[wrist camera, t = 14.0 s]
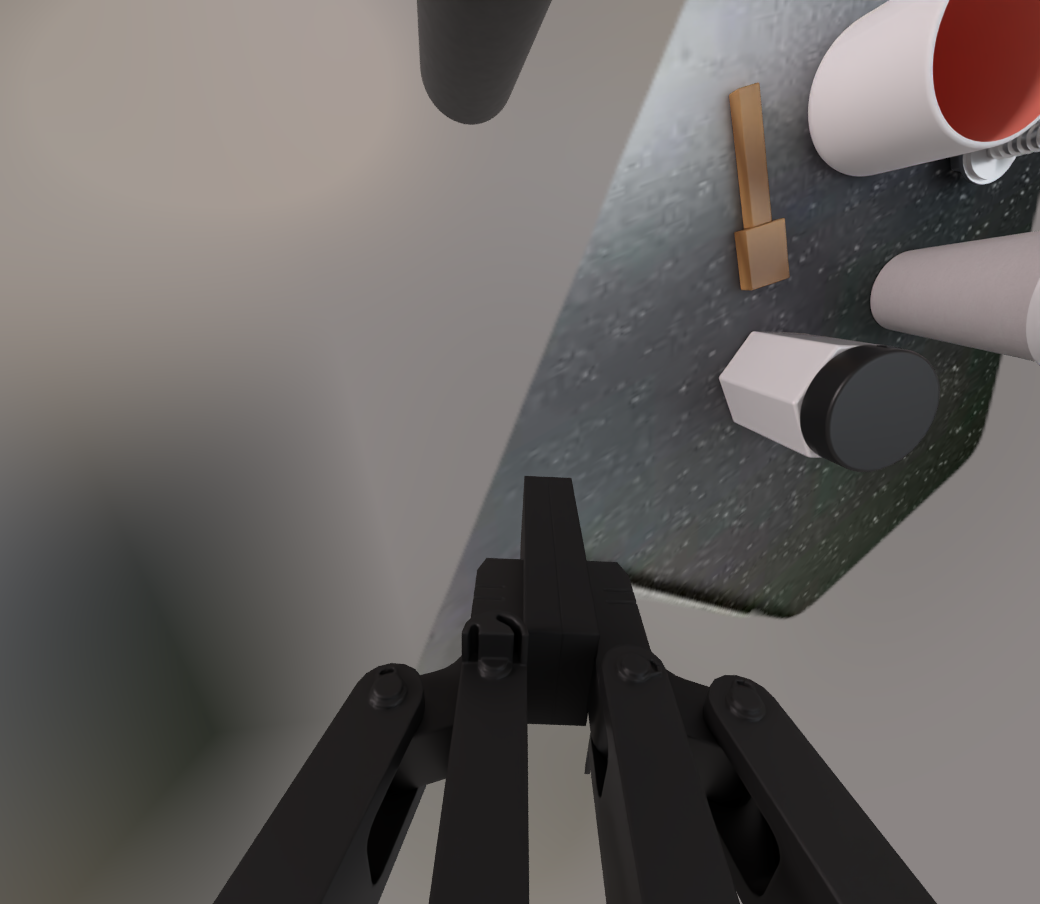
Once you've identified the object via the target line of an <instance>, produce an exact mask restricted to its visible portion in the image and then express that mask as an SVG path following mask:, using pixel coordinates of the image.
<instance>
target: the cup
mask: <svg viewBox="0 0 1040 904" xmlns="http://www.w3.org/2000/svg"><path fill="white" fill-rule="evenodd" d="M1039 119H1040V0H889V1H887V2H886V3H884V4H883V5H881V6H879V7H878V8H876V9H874V10H873V11H871V12H869V13H868V14H866V15H864V16H863V17H861V18H860V19H858V20H857V21H855V22H854V23H853V24H851V25H850V26H849V27H848V28H847V29H846V30H845V31H843V32H842V34H841V35H840V36H839V37H838V38H837V39H836V40H835V41H834V43H833V44H832V45H831V47H830V48H829V50H828V51H827V53H826V54H825V56H824V58H823V60H822V62H821V63H820V65H819V68H818V70H817V72H816V75H815V77H814V80H813V84H812V87H811V91H810V97H809V105H808V122H809V130H810V134H811V138H812V141H813V144H814V146H815V148H816V150H817V152H818V154H819V155H820V157H821V158H822V159H823V160H824V161H825V162H826V163H827V164H828V165H829V166H830V167H832V168H833V169H835V170H836V171H838V172H840V173H843V174H846V175H851V176H870V175H875V174H879V173H884V172H888V171H892V170H897V169H901V168H905V167H910V166H914V165H918V164H923V163H927V162H931V161H936V160H940V159H944V158H948V157H953V156H957V155H961V154H966V153H970V152H974V151H979V150H983V149H987V148H991V147H995V146H999V145H1002V144H1004V143H1007V142H1009V141H1011V140H1013V139H1014V138H1016V137H1018V136H1019V135H1021V134H1022V133H1024V132H1025V131H1027V130H1028V129H1029V128H1030V127H1032V126H1033V125H1034V124H1035V123H1036V122H1037V121H1038V120H1039Z"/></svg>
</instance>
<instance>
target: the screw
mask: <svg viewBox="0 0 1040 904" xmlns="http://www.w3.org/2000/svg"><path fill="white" fill-rule="evenodd" d="M1039 151H1040V122H1037V123H1035V124H1034V125H1033V126H1032V127H1030V128H1029V129H1028V130H1027V131H1025V132H1024V133H1022V134H1021V135H1019V136H1018V137H1016V138H1014V139H1013V140H1011V141H1009V142H1007V143H1004V144H1002V145H999V146H995V147H991V148H987V149H983V150H979V151H974V152H970V153H966V154H961V155H957V156H953V157H950V162H951V170H954V171H958V172H961V174H962V175H963V177H964V179H965V180H967V181H968V182H969V183H971V184H974V185H982V184H987V183H991V182H993V181H995V180H996V179H998V178H999V177H1001V176H1002V175H1003V174H1004V173H1005V172H1006V171H1007V169H1008V168H1009V167H1010V165H1011V164H1012V162H1013V161H1014V159H1015V157H1016V156H1020V155H1023V154H1030V153H1032V152H1039Z"/></svg>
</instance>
